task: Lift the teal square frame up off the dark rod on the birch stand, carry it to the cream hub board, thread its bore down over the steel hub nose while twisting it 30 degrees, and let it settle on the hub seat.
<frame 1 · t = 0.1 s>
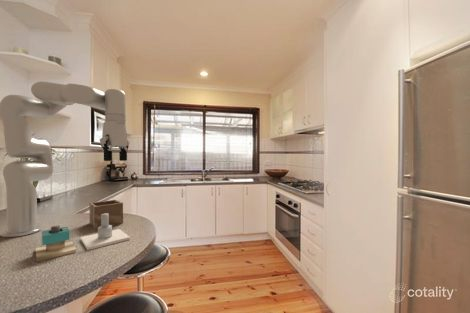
hand: (116, 160, 91), 31 cm above the counter, tool pointing down, fingers open, 9 cm apart
tool caddy: (106, 223, 108), on the counter
hub: (105, 239, 85), on the counter
teal square frame: (55, 239, 75), point 4 cm above the counter, touching stand
stand: (55, 251, 75), on the counter
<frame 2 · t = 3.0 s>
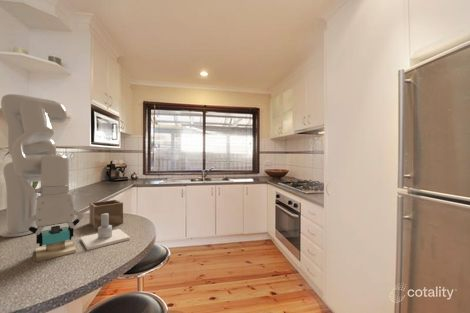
hand: (55, 241, 75), 3 cm above the counter, tool pointing down, fingers closed on teal square frame, 7 cm apart
teal square frame: (55, 239, 75), point 4 cm above the counter, touching gripper, stand
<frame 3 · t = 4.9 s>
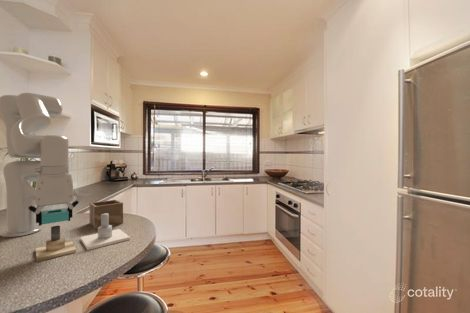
hand: (54, 221, 75), 10 cm above the counter, tool pointing down, fingers closed on teal square frame, 7 cm apart
teal square frame: (54, 220, 75), point 11 cm above the counter, touching gripper
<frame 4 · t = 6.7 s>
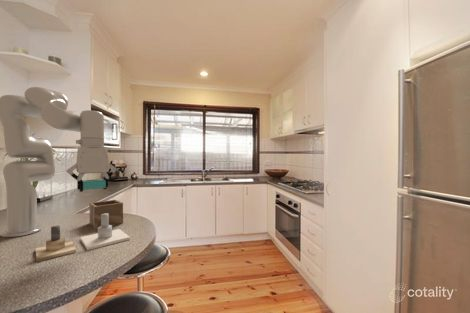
hand: (93, 189, 83), 20 cm above the counter, tool pointing down, fingers closed on teal square frame, 7 cm apart
teal square frame: (93, 188, 83), point 21 cm above the counter, touching gripper
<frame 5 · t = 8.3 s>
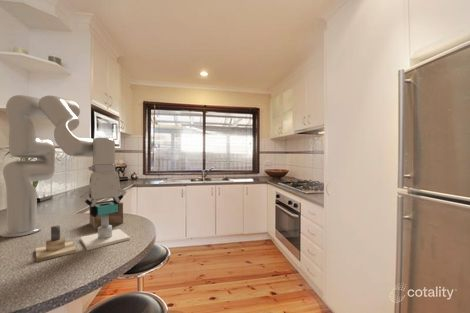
hand: (105, 213, 85), 10 cm above the counter, tool pointing down, fingers closed on teal square frame, 7 cm apart
teal square frame: (105, 212, 85), point 11 cm above the counter, touching gripper
when the fingers open (5 cm above the counter, at t = 9.9 s): teal square frame stays where it is, resting on hub.
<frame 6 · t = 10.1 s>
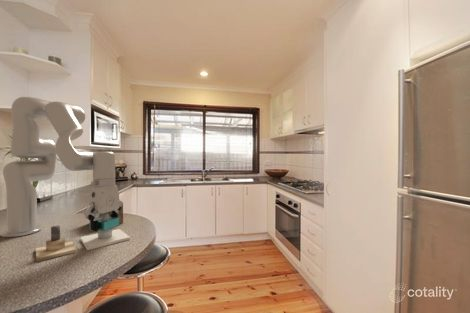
hand: (104, 226, 85), 5 cm above the counter, tool pointing down, fingers open, 8 cm apart
teal square frame: (104, 226, 85), point 5 cm above the counter, touching hub
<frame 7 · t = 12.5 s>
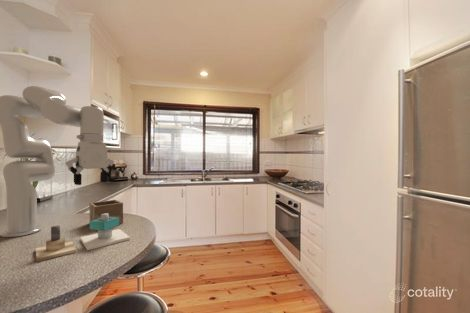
hand: (91, 183, 84), 22 cm above the counter, tool pointing down, fingers open, 9 cm apart
nothing on the counter moved.
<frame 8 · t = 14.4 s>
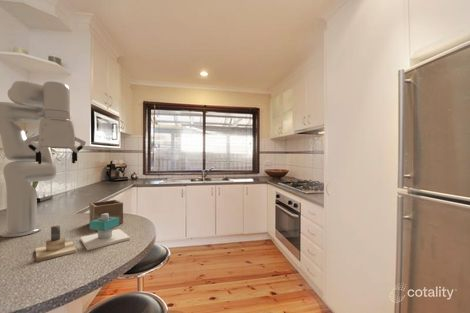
hand: (57, 163, 80), 30 cm above the counter, tool pointing down, fingers open, 9 cm apart
nothing on the counter moved.
at the end: teal square frame 0.0 cm off-centre on the hub, point 5.0 cm above the hub's base; teal square frame tilted 0°; the gripper is holding nothing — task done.
